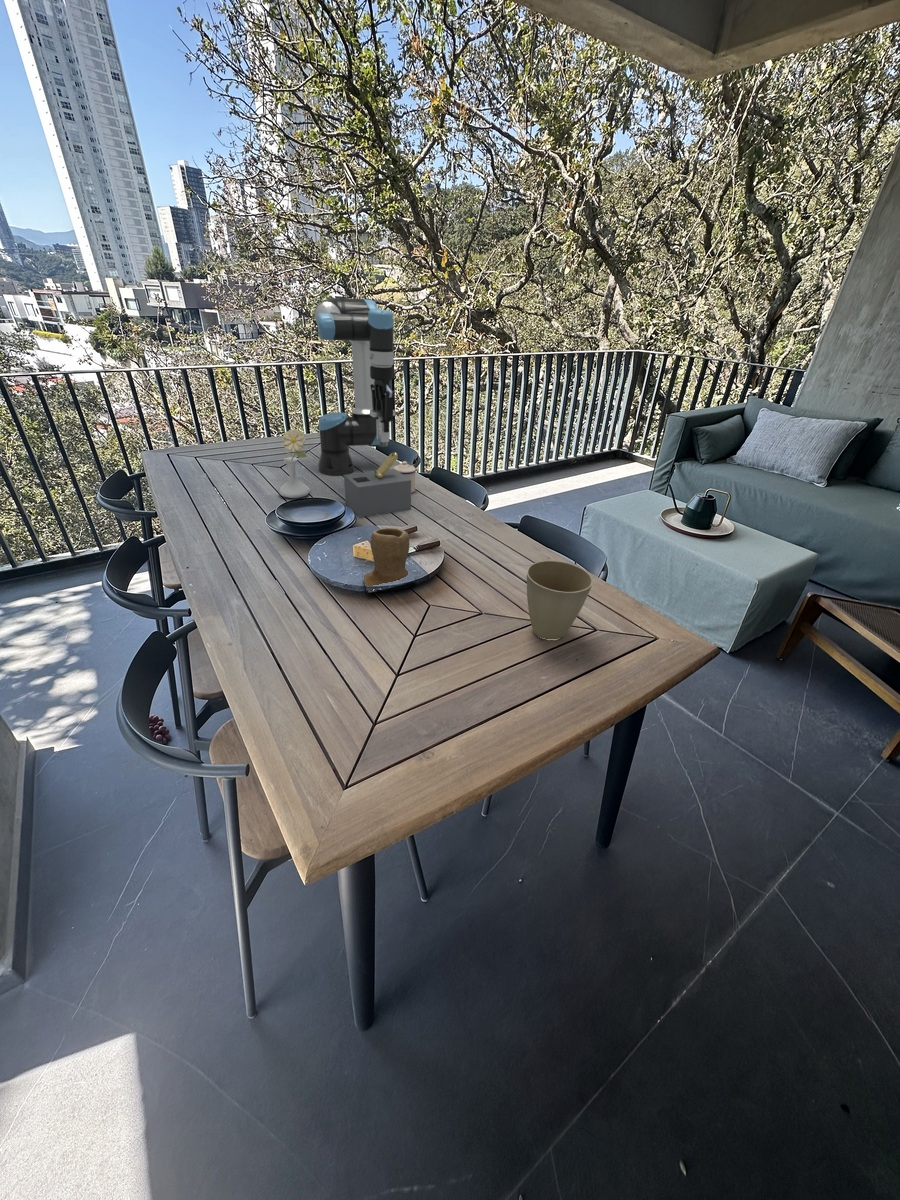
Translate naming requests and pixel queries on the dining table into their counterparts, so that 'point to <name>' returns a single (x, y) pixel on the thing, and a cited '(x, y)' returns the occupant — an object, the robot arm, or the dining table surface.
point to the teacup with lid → (407, 473)
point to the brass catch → (386, 465)
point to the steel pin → (379, 424)
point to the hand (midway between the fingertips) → (383, 440)
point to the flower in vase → (293, 465)
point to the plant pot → (555, 596)
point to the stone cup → (388, 556)
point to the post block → (377, 493)
